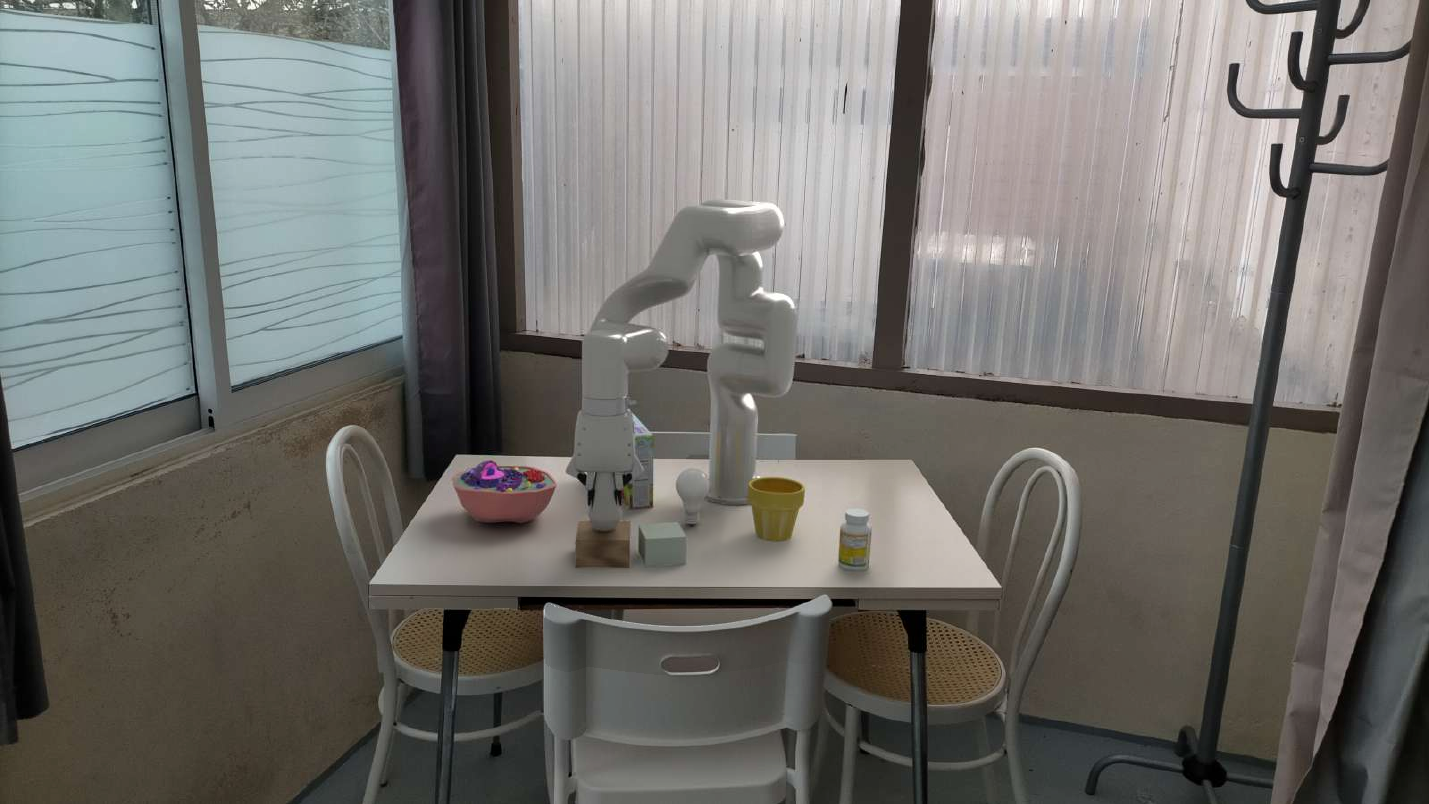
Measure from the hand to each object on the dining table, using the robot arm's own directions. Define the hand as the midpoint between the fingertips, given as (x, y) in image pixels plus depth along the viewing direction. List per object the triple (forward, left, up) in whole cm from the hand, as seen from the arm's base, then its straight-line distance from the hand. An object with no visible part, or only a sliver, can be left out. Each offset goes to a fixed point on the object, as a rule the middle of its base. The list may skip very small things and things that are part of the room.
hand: (604, 508), depth 174 cm
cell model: (+19, -18, -9) cm, 28 cm away
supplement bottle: (-43, +3, -9) cm, 44 cm away
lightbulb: (-16, -16, -9) cm, 24 cm away
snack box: (-4, -35, -9) cm, 36 cm away
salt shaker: (0, 0, -3) cm, 3 cm away
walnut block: (0, 0, -9) cm, 9 cm away
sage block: (-10, 0, -9) cm, 13 cm away
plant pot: (-31, -11, -9) cm, 34 cm away
